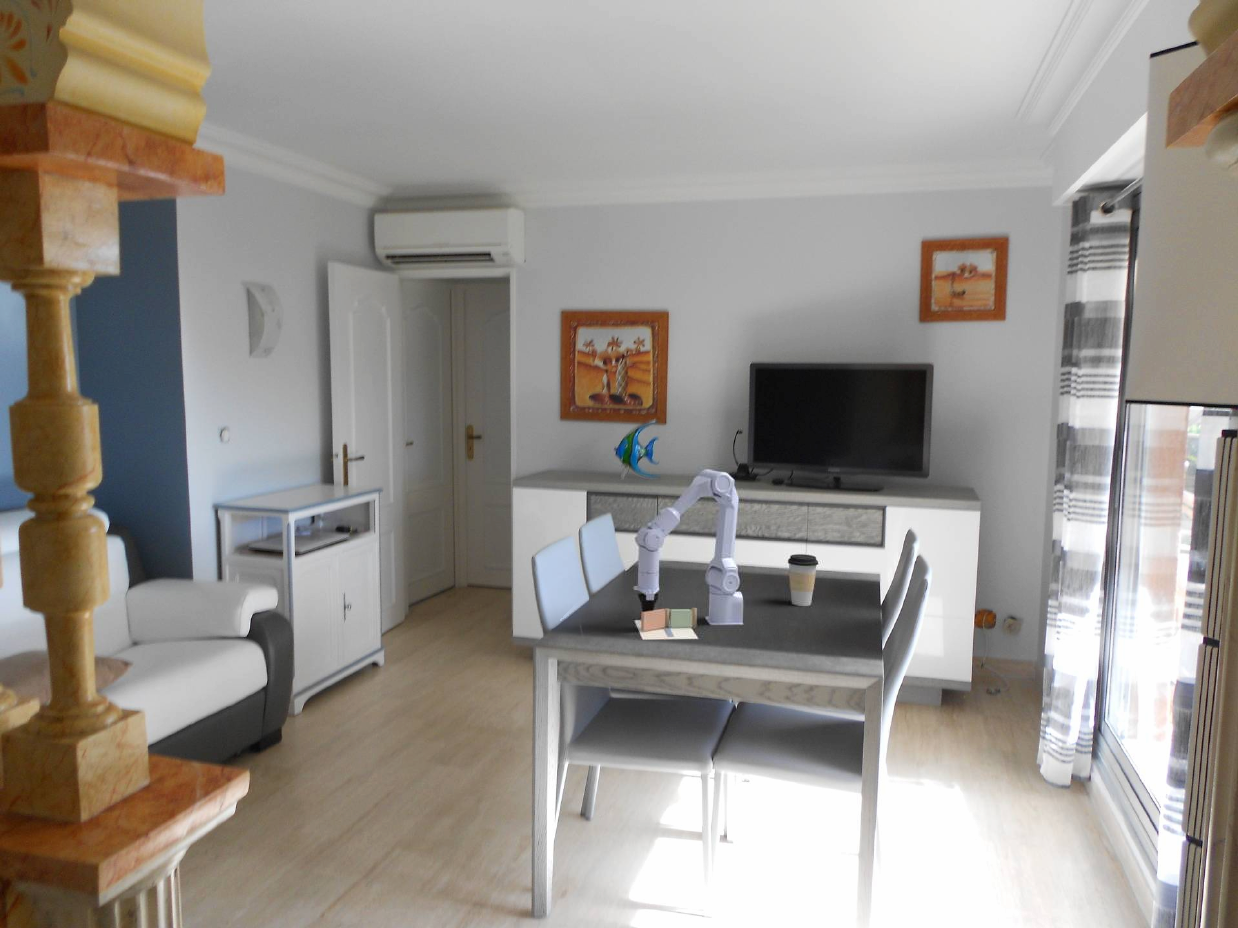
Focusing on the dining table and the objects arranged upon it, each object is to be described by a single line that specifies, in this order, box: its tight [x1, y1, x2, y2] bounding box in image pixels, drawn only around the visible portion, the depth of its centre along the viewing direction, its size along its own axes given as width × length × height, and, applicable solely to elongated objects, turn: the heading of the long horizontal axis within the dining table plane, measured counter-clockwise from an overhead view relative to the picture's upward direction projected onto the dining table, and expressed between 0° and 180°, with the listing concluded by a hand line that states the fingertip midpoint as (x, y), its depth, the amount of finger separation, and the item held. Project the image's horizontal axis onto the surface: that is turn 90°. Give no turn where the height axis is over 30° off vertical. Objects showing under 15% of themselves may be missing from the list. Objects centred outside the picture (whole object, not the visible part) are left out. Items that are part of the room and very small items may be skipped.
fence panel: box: [640, 607, 670, 631], centre depth 243 cm, size 9×2×5 cm, turn 122°
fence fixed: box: [669, 607, 698, 629], centre depth 246 cm, size 7×2×5 cm, turn 96°
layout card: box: [634, 619, 699, 641], centre depth 244 cm, size 15×19×1 cm
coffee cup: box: [787, 553, 819, 607], centre depth 275 cm, size 9×9×15 cm
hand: (647, 619), depth 244 cm, fingers closed, pressing on fence panel
